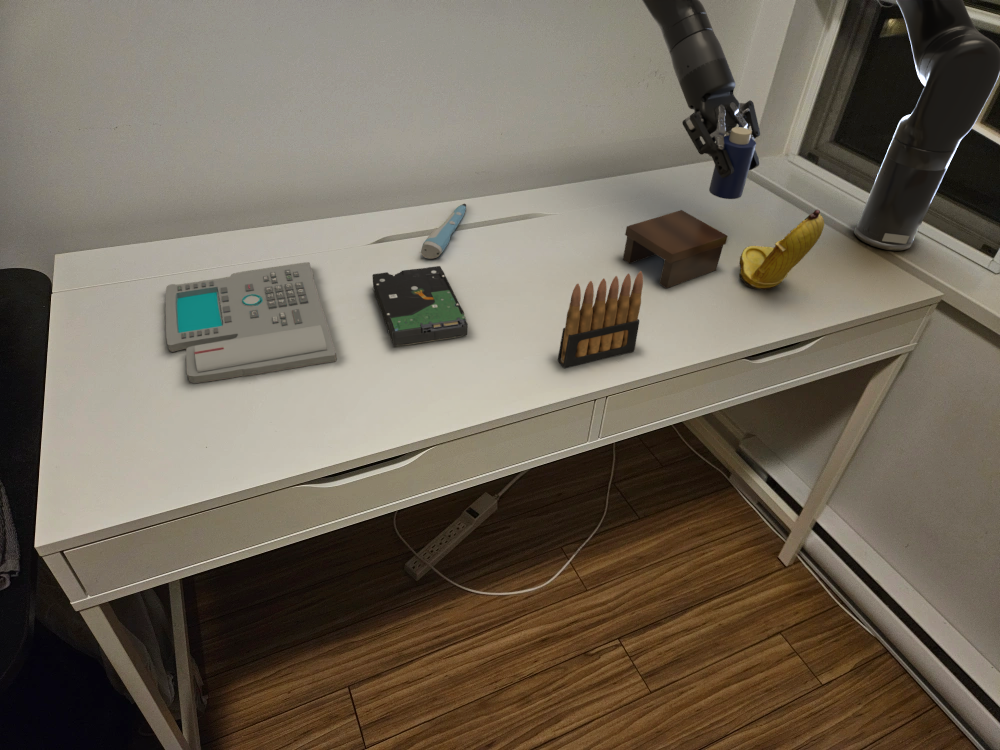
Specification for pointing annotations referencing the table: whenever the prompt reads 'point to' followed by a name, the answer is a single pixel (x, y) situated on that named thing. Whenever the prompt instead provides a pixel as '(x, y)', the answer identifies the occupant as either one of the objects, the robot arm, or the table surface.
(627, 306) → the ammunition clip
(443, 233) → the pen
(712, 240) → the brown wooden stand
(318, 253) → the table surface
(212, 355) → the office telephone
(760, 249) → the shrine
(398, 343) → the disk drive
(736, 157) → the bottle
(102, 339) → the table surface
